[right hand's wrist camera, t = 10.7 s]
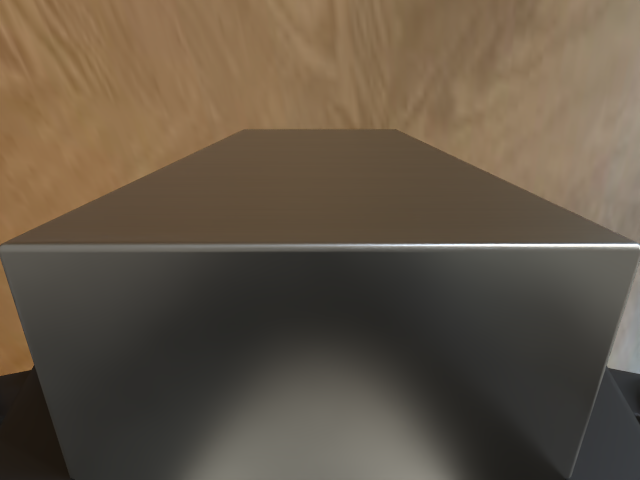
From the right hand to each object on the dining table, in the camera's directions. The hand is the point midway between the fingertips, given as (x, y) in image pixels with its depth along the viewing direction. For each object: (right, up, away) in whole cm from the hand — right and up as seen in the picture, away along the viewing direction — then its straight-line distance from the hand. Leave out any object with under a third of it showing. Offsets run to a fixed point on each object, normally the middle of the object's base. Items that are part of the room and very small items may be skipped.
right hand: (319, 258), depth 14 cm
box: (0, -6, +5) cm, 8 cm away
